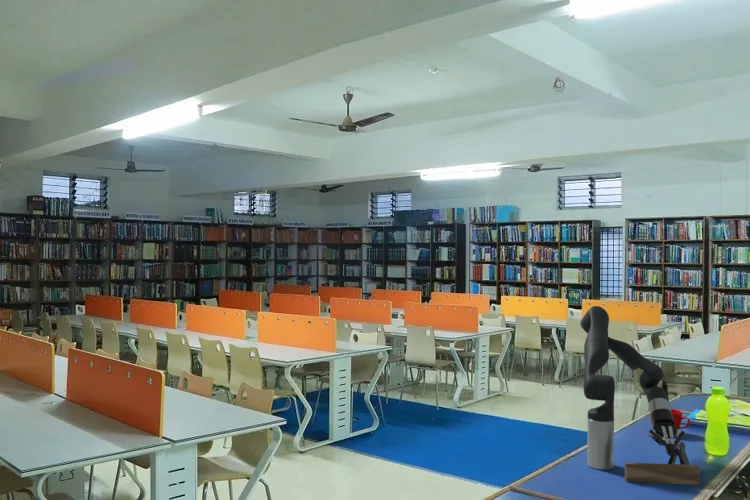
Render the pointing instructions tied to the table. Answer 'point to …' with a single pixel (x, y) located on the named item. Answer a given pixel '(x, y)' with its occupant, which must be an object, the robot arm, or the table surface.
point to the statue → (665, 389)
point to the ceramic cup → (677, 418)
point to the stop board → (662, 473)
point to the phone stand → (679, 454)
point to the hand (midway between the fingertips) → (672, 455)
